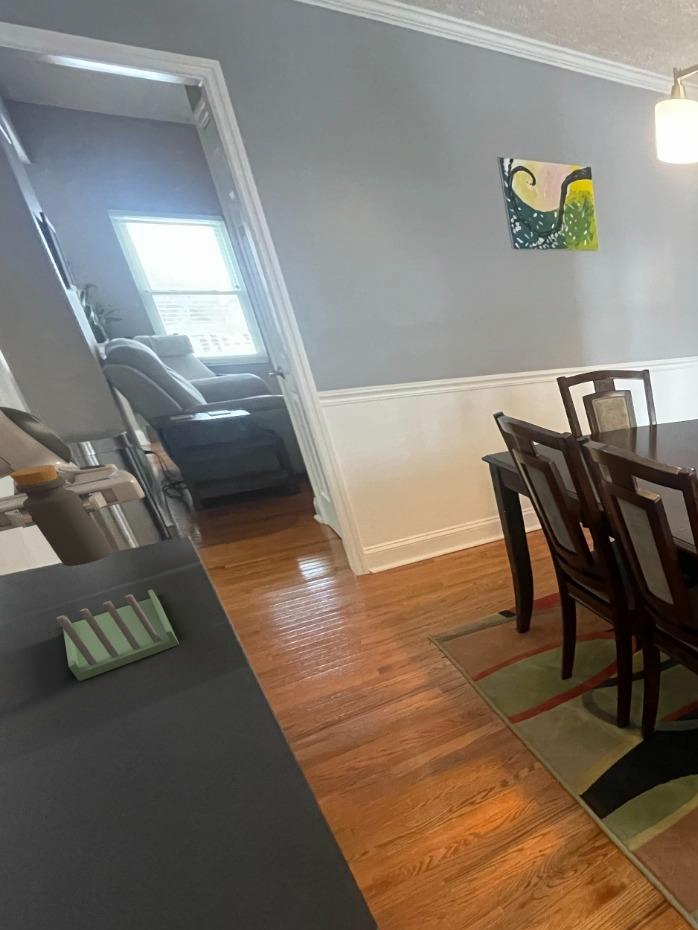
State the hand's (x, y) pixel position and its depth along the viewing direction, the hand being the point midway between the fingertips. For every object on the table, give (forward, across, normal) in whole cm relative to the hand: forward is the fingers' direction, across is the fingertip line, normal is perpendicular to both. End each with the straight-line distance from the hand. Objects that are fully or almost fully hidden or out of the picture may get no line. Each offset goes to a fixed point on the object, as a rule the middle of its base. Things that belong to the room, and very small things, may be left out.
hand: (59, 514), depth 92 cm
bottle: (-1, 0, +8) cm, 8 cm away
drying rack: (+12, -1, +18) cm, 21 cm away
